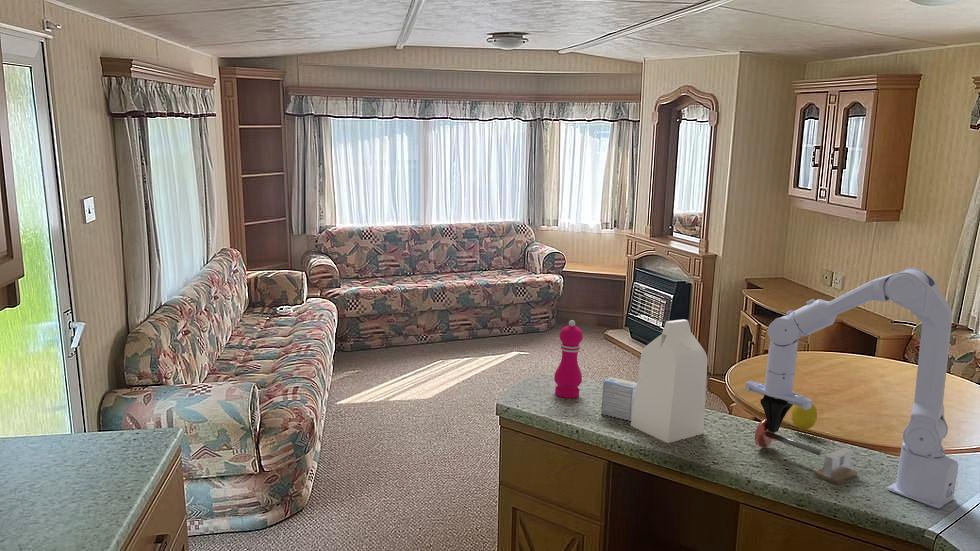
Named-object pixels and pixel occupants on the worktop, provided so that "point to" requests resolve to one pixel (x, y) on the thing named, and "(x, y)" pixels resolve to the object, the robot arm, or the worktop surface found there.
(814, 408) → the lemon
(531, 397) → the worktop surface
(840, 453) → the eye bracket
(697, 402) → the milk
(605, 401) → the grey rectangular block
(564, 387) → the pepper mill
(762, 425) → the red wheel with axle
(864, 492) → the worktop surface
